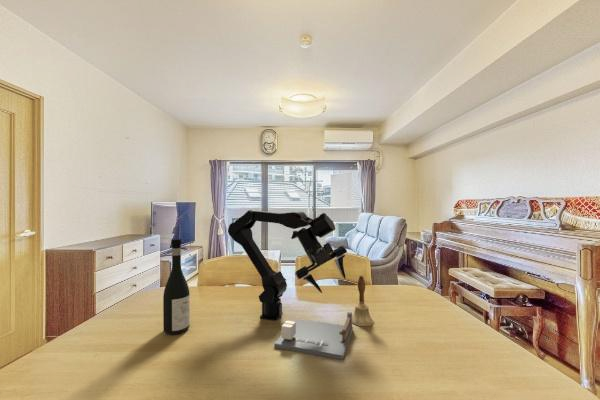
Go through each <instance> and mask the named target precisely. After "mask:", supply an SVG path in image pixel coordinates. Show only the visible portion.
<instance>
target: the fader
mask: <svg viewBox="0 0 600 400" xmlns="http://www.w3.org/2000/svg"><path fill="white" fill-rule="evenodd" d="M295 334H296V322H294V320H285V322H284V323H283V324H282V325H281V335H282V338H283V339H289V340H291V339H292V338H293V337H294V335H295Z"/></svg>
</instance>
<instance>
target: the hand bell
mask: <svg viewBox="0 0 600 400" xmlns="http://www.w3.org/2000/svg"><path fill="white" fill-rule="evenodd" d="M357 289H358V294H359V299H358V300H359V303H356V304H355V306H354V307H355V309H354V313H352V325H355V326H357V327H371V326H372V325H374V323H375V321H374V318H373V317H371V315H370V311H369V306H368V305H367V304H366V303H365V291H366V280H365V279H364V275H359V277H358V281H357Z"/></svg>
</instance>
